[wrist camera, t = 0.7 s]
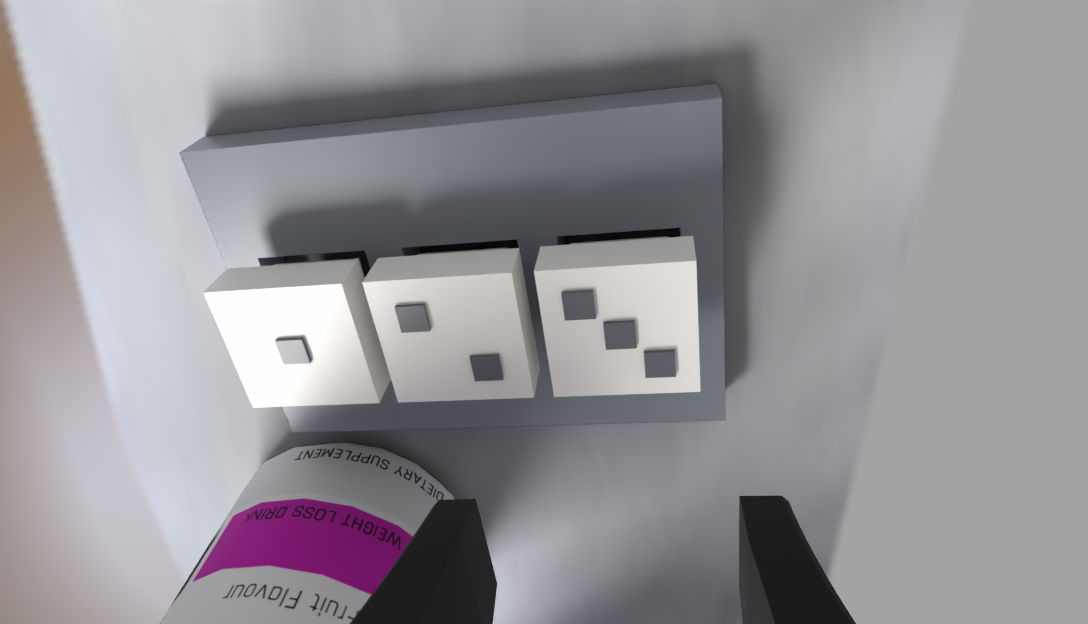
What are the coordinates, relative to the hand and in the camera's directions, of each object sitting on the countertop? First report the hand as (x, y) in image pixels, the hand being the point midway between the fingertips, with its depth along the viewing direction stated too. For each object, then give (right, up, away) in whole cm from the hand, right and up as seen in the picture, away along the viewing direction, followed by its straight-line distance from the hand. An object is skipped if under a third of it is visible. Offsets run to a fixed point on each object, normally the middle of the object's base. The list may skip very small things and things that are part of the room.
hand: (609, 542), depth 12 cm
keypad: (-3, +5, +9) cm, 10 cm away
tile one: (-7, +5, +9) cm, 12 cm away
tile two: (-3, +5, +9) cm, 10 cm away
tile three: (+1, +5, +8) cm, 9 cm away
